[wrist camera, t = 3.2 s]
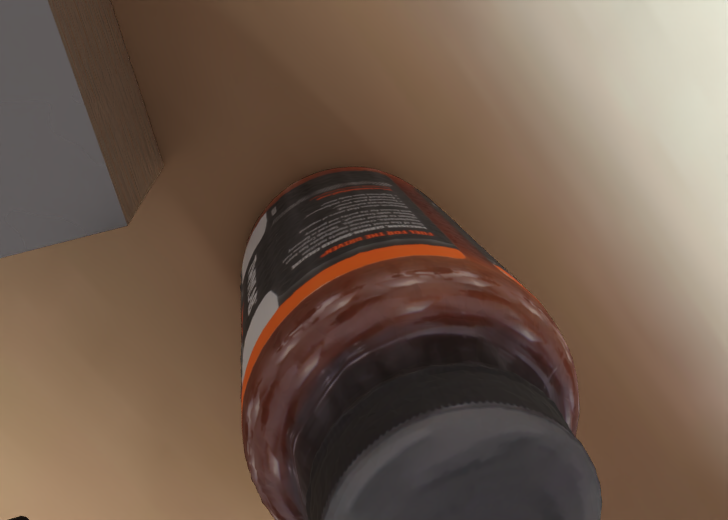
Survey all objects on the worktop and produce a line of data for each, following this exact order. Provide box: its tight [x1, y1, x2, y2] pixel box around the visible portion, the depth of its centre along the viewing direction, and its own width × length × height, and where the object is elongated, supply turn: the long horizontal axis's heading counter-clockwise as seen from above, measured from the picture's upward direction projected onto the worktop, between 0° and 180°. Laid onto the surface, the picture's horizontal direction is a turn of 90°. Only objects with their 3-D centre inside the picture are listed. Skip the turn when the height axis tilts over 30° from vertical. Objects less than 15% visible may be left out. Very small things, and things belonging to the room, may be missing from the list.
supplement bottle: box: [240, 167, 602, 520], centre depth 14 cm, size 6×6×11 cm
